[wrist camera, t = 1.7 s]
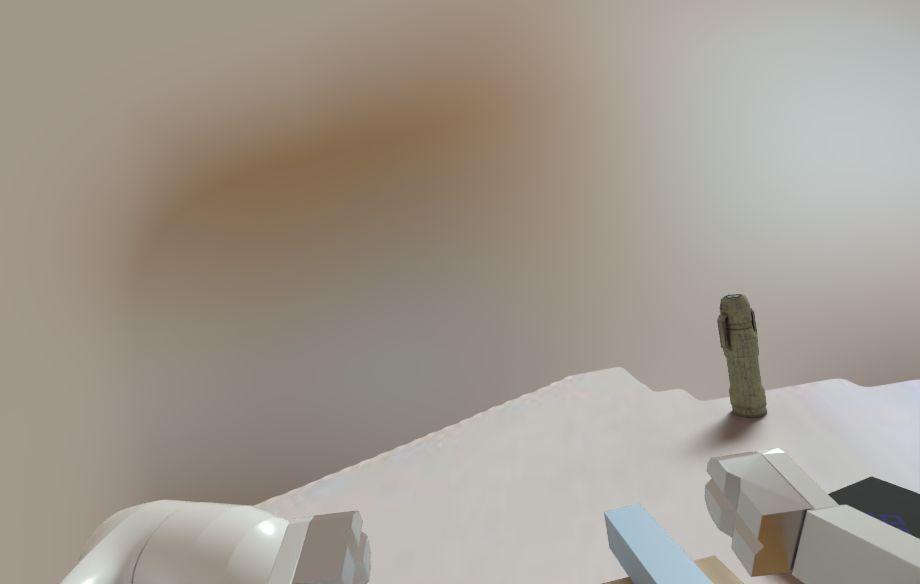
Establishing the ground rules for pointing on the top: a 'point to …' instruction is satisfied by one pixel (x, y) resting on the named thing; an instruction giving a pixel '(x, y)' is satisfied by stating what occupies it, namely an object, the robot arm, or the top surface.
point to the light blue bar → (648, 549)
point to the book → (883, 503)
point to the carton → (710, 566)
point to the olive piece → (741, 356)
